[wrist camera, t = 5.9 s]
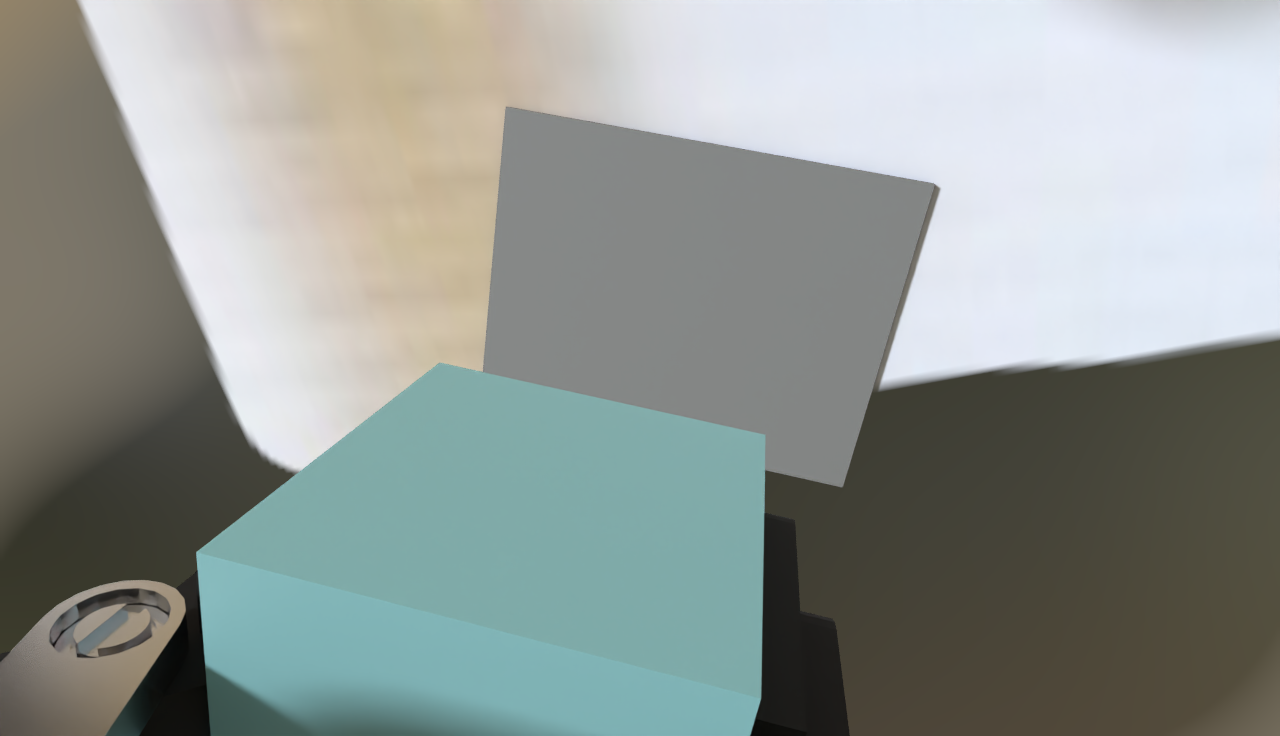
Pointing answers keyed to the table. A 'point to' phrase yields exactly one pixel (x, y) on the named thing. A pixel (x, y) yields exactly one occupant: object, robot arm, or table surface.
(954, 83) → the table surface
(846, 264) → the slate mat
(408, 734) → the teal block
